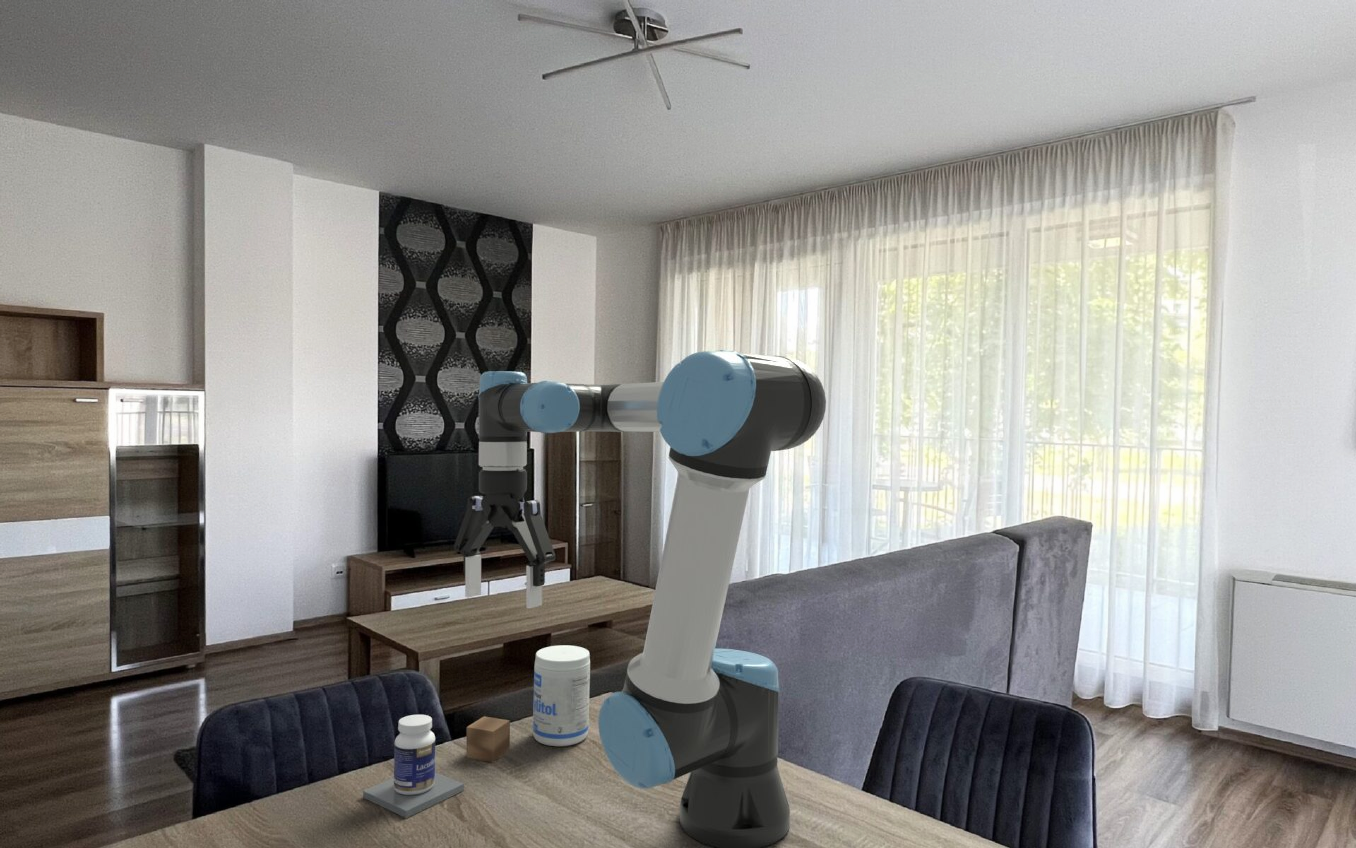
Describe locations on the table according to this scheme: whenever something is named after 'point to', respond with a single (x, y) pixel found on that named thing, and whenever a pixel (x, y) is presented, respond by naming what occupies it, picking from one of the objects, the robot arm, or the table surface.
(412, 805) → the slate coaster
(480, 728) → the walnut cube
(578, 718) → the supplement tub
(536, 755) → the table surface
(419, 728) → the pill bottle
